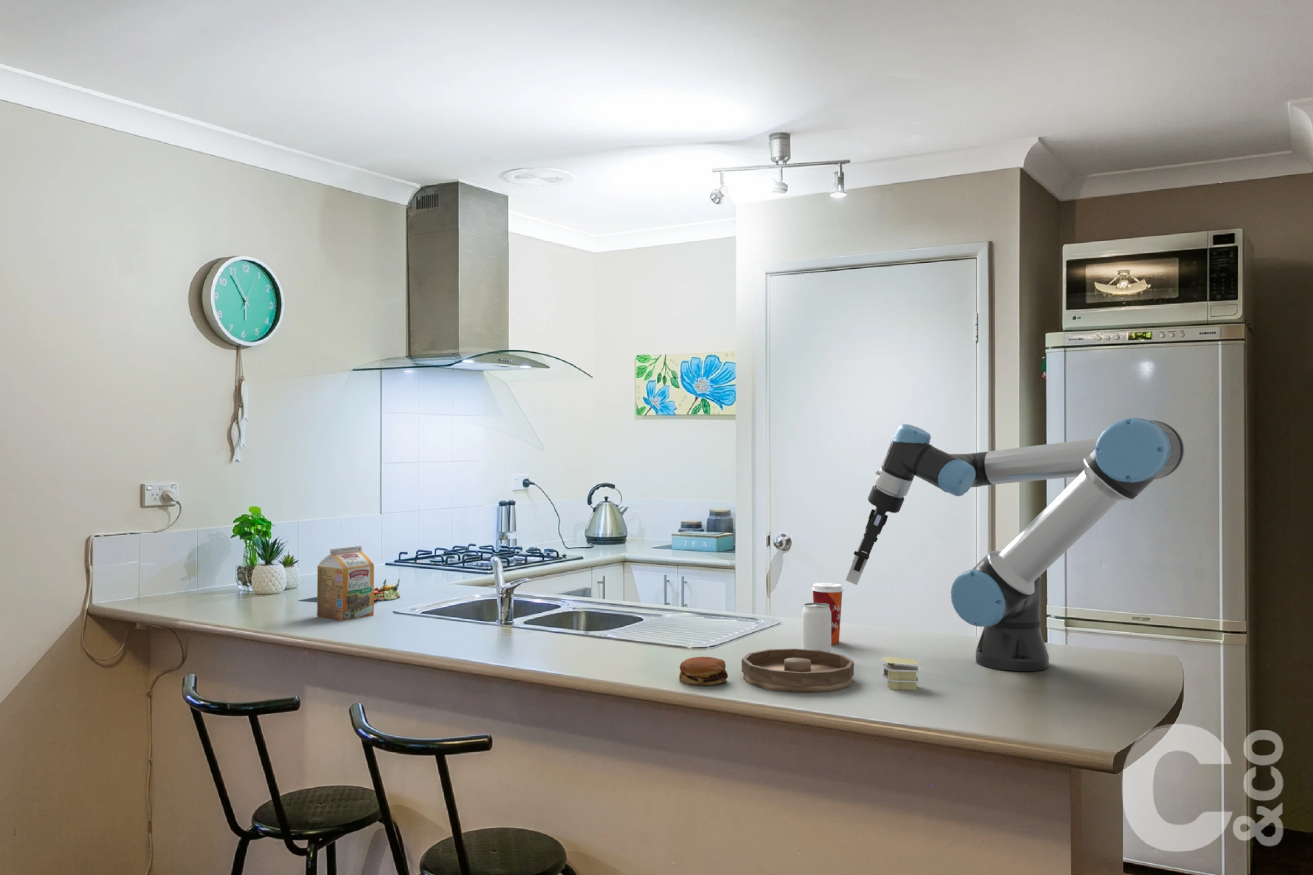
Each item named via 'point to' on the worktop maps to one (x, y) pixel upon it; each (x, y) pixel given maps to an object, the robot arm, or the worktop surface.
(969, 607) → the robot arm
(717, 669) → the burger
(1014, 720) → the worktop surface
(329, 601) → the milk carton
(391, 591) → the plated dish
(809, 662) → the tray
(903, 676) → the yellow layered block
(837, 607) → the paper cup
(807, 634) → the can
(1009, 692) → the worktop surface
